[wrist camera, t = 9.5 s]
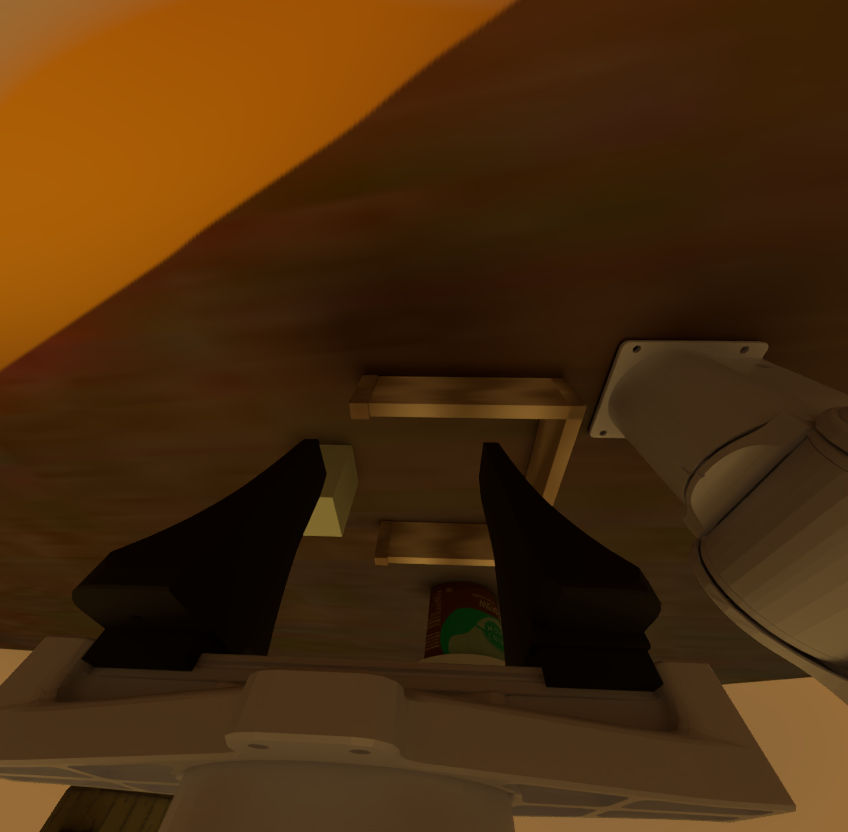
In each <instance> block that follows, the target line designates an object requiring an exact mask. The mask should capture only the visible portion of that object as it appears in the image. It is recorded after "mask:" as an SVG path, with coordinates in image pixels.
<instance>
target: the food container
mask: <svg viewBox="0 0 848 832" xmlns="http://www.w3.org/2000/svg"><path fill="white" fill-rule="evenodd" d="M419 662H424V663H448V664H472V665H495V666H505V657H504V645H503V634H502V628H501V624H500V620H499V615H498V611H497V607H496V602H495V598H494V596H493V594H492V592H491V591H490V590H489V589H487V588H486V587H484V586H482V585H479V584H475V583H470V582H450V583H445V584H442V585H439V586H436V587H434V588H432V589H431V594H430V604H429V614H428V624H427V635H426V645H425V655H424V659H423V660H420V661H419Z"/></svg>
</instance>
